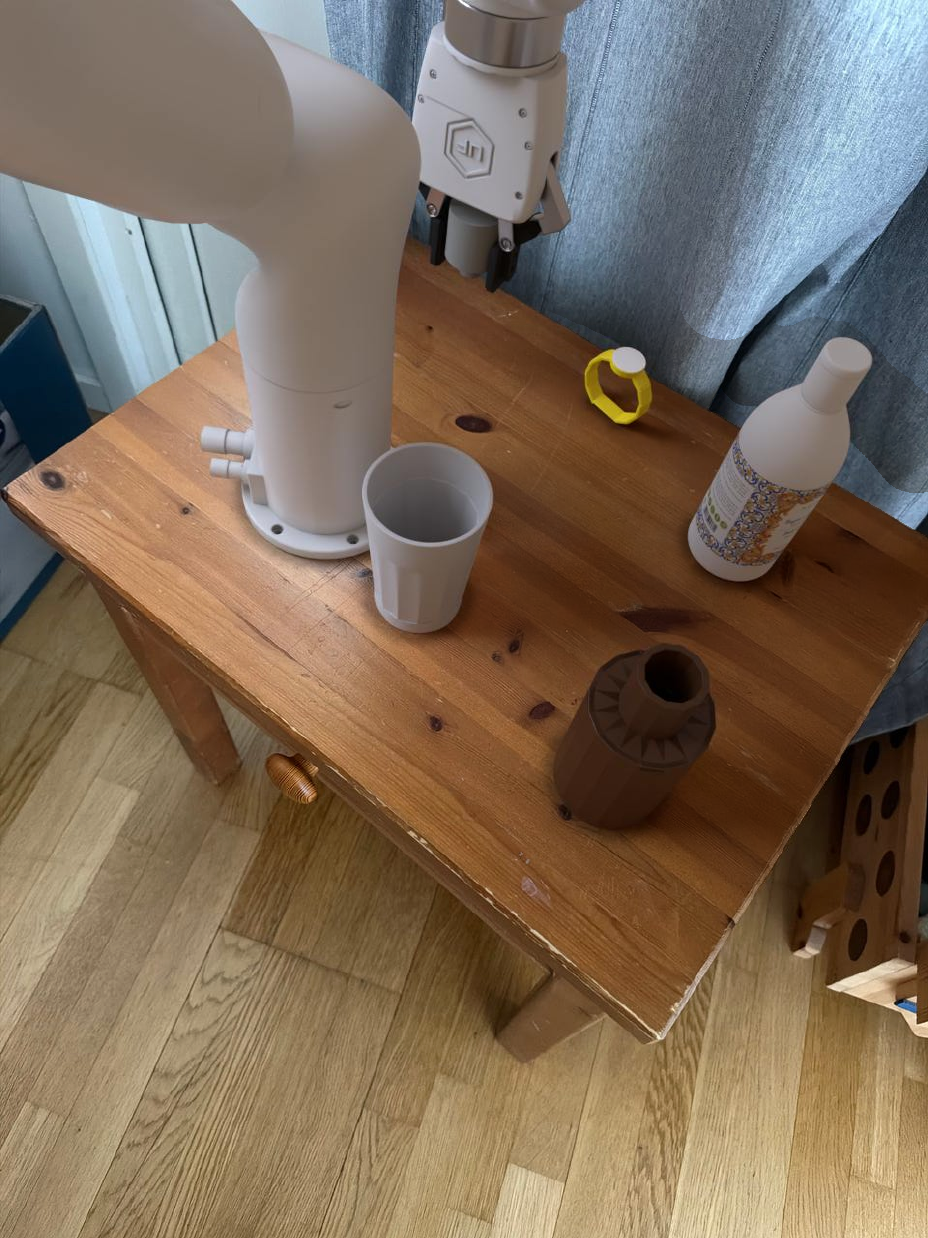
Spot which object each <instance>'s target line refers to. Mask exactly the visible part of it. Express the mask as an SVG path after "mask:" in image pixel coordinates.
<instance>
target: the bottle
mask: <svg viewBox="0 0 928 1238" xmlns="http://www.w3.org/2000/svg"><path fill="white" fill-rule="evenodd" d="M710 684H711V683H710V672H709V670H708V667H707V666H706V665H705V663H704V661H703V660H702V659H701V657H700V655H698V654H697V653H695V652H694V651H692V650H690V649H689V648H687V647H686V646H685V645H682V644H676V643H668V642H662V643H659V644H656V645H654V646H651V647H648V648H647V649H635V650H631V651H626V652H622V653H618V654H615V655H614V656H613V657H612V658H610V659H609V660H608V661H606V662H605V663H604V664H602V665H601V666H599V668H598V669H597V671H596V673H595V675H594V676H593V678H592V680H591V682H590V684H589V686H588V688H587V690H586V691H585V694H584V696H583V698H582V700H581V703H580V705H579V706H578V708H577V710H576V712H575V714H574V716H573V719H572V720H571V723H570V725H569V727H568V729H567V730H566V732H565V734H564V736H563V739H562V740H561V743H560V745H559V747H558V749H557V751H556V753H555V754H554V759H553V765H552V776H553V783H554V786H555V790H556V792H557V794H558V797H559V798H560V800H561V801H562V803H563V804H564V806H565V807H566V808H567V809H568V810H569V812H570V813H572V814H573V815H574V816H575V817H577V818H578V819H579V820H581V821H582V822H585V823H586V824H589V825H591V826H593V827H597V828H601V829H607V830H618V829H619V830H621V829H624V828H628V827H632V826H635V825H636V824H638V823H640V822H641V821H643V820H644V819H645V818H646V817H648V816H649V814H650V813H651V812H652V811H654V810H655V809H656V808H657V807H658V805H660V803H661V802H662V801H663V800H664V799H665V798H666V797H667V796H668V794H669V793H670V792H671V791H672V790H673V788H674V787H676V785H677V784H678V783H679V782H680V780H681V779H682V778H683V777H684V776H685V775H686V774H687V773H688V772H689V770H691V768H692V767H693V766H694V765H695V764H696V762H698V760H699V759H700V758H702V756H703V755H704V754H705V752H706V751H707V750H708V749H709V747H710V745H711V742H712V739H713V737H714V735H715V732H716V730H717V714H716V712H717V711H716V702H715V701H714V699H713V696H712V694H711V692H710V690H711V687H710V686H711V685H710Z"/></svg>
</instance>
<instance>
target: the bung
mask: <svg viewBox="0 0 928 1238" xmlns="http://www.w3.org/2000/svg"><path fill="white" fill-rule="evenodd" d="M498 240H499V232H498V218H496V217H494V216H491V215H489V214H487V213H485V212H483V211H480V210H478V209H476V208H474V207H472V206H469V205H467V204H465V203H463V202H461V201H459V200H456V199H454V198H452V200H451V202H450V207H449V216H448V226H447V235H446V244H445V257H446V261H447V262H448V263H449V264H450V265H451V266H452V267H453V268H455V269H457V270H458V272H459V274H460V275H461V276H462V277H464V278H466V279H477V278H479V277H480V276H481V275H482V274H485V273H486V274H487V271H488V265H489V259H490V252H491V248H492V247H493V245H494V244H495V243H496V242H497V241H498Z"/></svg>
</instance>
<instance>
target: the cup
mask: <svg viewBox="0 0 928 1238" xmlns="http://www.w3.org/2000/svg"><path fill="white" fill-rule="evenodd" d="M393 448H394V449H392V450H390V451H388V452H386V453H385V454H383V455H382V456H380V457H379V458H378V459H377V460H376V461H375V462H374V463H373V464H372V466H371V467H370V468H369V470H368V472H367V474H366V476H365V479H364V482H363V487H362V497H363V504H364V511H365V517H366V524H367V530H368V538H369V546H370V550H369V552H370V561H371V569H372V576H373V577H372V578H373V583H374V602H375V605H376V608H377V610H378V612H379V614H380V615H381V616H382V617H383V619H384V620H385V621H387V622H388V623H389V624H390V625H392V626H393V627H394V628H397V629H399V630H401V631H404V632H408V633H414V634H427V633H431V632H432V633H433V632H435V631H438V630H441V629H442V628H444V627H446V626H447V625H449V624H450V623H451V622H452V621H453V620H454V619H455V618H456V616H457V614H458V613H459V611H460V609H461V606H462V602H463V595H464V593H465V589H466V586H467V583H468V581H469V580H468V579H469V578H470V574H471V571H472V568H473V565H474V561H475V559H476V555H477V554H478V550H479V547H480V544H481V540H482V538H483V535H484V533H485V532H484V531H485V529H486V527H487V523H488V521H489V518H490V516H491V514H492V513H491V512H492V510H493V506H494V489H493V485H492V482H491V480H490V478H489V476H488V474H487V473H486V471H485V469H484V468H483V467H482V466H481V464H479V463H478V462H477V461H476V459H474V458H473V457H472V456H470V455H469V454H467V453H466V452H464V451H462V450H460V449H458V448H456V447H453V446H450V445H447V444H444V443H438V442H430V441H419V442H417V441H416V442H411V443H406V444H402V445H398V446H396V447H393Z"/></svg>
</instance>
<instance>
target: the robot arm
mask: <svg viewBox="0 0 928 1238" xmlns="http://www.w3.org/2000/svg"><path fill="white" fill-rule="evenodd" d="M439 2H440V3H442V4H443V6H442V7H443V8H442V19H441V21H440V22H438V23H436V24H435V25H434V26H433V27H432V29H431V32H430V35H429V39H428V42H427V45H426V49H425V53H424V57H423V61H422V65H421V68H420V74H419V78H418V83H417V88H416V94H415V98H414V106H413V113H412V118H411V119H410V117H409V116H408V114H407V113H406V112H405V110H404V109H403V107H402V106H401V105H400V104H399V102H397V101H396V99H395V98H394V97H392V95H390V94H389V93H388V92H387V91H386V90H385V89H383V88H382V87H381V86H380V85H378V84H377V83H375V82H373V81H372V80H370V79H369V78H367V77H366V76H365V75H363V74H361V73H360V72H358V71H356V70H354V69H352V68H351V67H348V66H346V65H345V64H342V63H341V62H338V61H336V60H333V59H331V58H329V57H326V56H324V55H322V54H320V53H318V52H315V51H313V50H311V49H309V48H306V47H305V46H302V45H300V44H297V43H295V42H294V41H291V40H289V39H286V38H284V37H282V36H280V35H277V34H276V33H269V32H267V31H264V30H262V29H260V28H258V27H257V26H255V24H253V22H252V21H251V20H250V18H248V17H247V16H246V14H244V12H243V11H242V10H241V9H240V8H239V7H238V6H237V4H236V3H235V2H234V1H233V0H0V174H1V175H2V174H3V175H5V176H8V177H11V178H14V179H17V180H18V181H21V182H25V183H29V184H32V185H36V186H40V187H42V188H46V189H50V190H53V191H57V192H60V193H63V194H67V195H71V196H74V197H77V198H81V199H85V200H89V201H90V202H91V201H92V202H95V203H97V204H100V205H103V206H105V207H107V208H111V209H113V210H116V211H120V212H122V213H125V214H127V215H131V216H134V217H137V218H140V219H144V220H150V221H154V222H155V221H156V222H162V223H167V224H171V225H172V224H173V225H175V224H178V225H203V224H207V225H208V226H210V227H212V228H213V229H215V230H216V231H218V232H220V233H223V234H225V235H226V236H228V237H230V238H232V239H234V240H236V241H237V242H239V243H241V244H242V245H244V246H245V247H246V248H248V250H249V251H251V252H252V253H253V254H254V257H256V260H257V263H255V265H254V266H253V267H252V268H251V269H250V271H249V272H248V273H247V274H246V275H245V277H244V279H243V280H242V282H241V284H240V286H239V288H238V291H237V294H236V297H235V305H234V322H235V323H234V324H235V330H236V331H235V332H236V338H237V343H238V344H237V345H238V348H239V351H240V357H241V363H242V369H243V376H244V382H245V387H246V388H245V389H246V393H247V399H248V400H247V401H248V406H249V414H250V418H251V425H252V427H247V429H246V430H245V432H244V431H237V430H230V428H226V427H220V426H211V425H204V426H203V428H202V430H201V435H200V448H201V451H202V452H204V453H210V454H211V453H212V454H219V455H225V456H226V455H233V456H234V455H235V456H241V457H243V459H244V461H243V462H241V461H234V460H232V459H225V458H218V457H212V459H211V460H210V465H209V473H210V476H211V477H212V478H219V479H228V480H229V479H234V480H241V487H240V488H241V496H242V502H243V506H244V511H245V513H246V516H247V517H248V519H249V521H250V524H251V525H252V526H253V528H254V529H255V530H256V531H257V532H258V533H259V534H260V536H262V538H263V539H265V540H266V541H268V542H269V543H270V544H272V545H273V546H274V547H276V548H278V549H280V550H283V551H284V552H286V553H288V554H291V555H295V556H298V557H302V558H305V559H306V558H307V559H313V560H314V559H316V560H339V559H345V558H349V557H354V556H357V555H360V554H362V553H365V552H368V551H370V546H369V538H368V530H367V524H366V517H365V511H364V504H363V497H362V487H363V482H364V479H365V476H366V474H367V472H368V470H369V468H370V467H371V466H372V464H373V463H374V462H375V461H376V460H377V459H378V458H379V457H380V456H382V455H383V454H385V453H386V452H388V451H390V450H392V449H394V448H395V447H394V446H392V422H393V421H392V420H393V394H394V393H393V392H394V391H393V390H394V366H395V365H394V362H395V341H396V340H395V336H396V314H397V313H396V311H397V297H398V294H397V293H398V287H399V279H400V271H401V265H402V259H403V254H404V249H405V245H406V241H407V237H408V232H409V229H410V224H411V220H412V217H413V214H414V213H413V212H414V209H415V205H416V201H417V198H418V197H417V196H418V193H420V194H421V196H422V197H423V199H424V201H425V204H424V209H425V213H426V214H427V215H428V216H429V217H430V223H429V234H428V245H429V246H430V256H429V257H430V258H429V264H431V265H433V266H434V267H438V266H441V265H442V264H443V263H444V262H445V261H447V259H446V257H445V244H446V235H447V226H448V216H449V207H450V202H451V200H452V198H454V199H456V200H459V201H461V202H463V203H465V204H467V205H469V206H472V207H474V208H476V209H478V210H480V211H483V212H485V213H487V214H489V215H491V216H494V217H496V218H498V232H499V240H498V241H497V242H496V243H495V244H494V245H493V247H492V248H491V252H490V259H489V265H488V271H487V272H486V279H485V286H484V288H485V289H486V291H487V292H489V293H491V294H494V293H495V292H496V291H497V290H498V289H499V288H500V287H501V285H503V283H504V282H506V283H508V282H510V281H511V280H512V279H513V277H514V276H515V274H516V271H517V267H518V262H519V257H520V252H521V246H522V245H523V244H526V243H528V242H530V241H533V240H534V239H536V238H538V237H539V236H546V235H550V234H555V233H559V232H562V231H563V230H564V229H565V228H566V227H567V226H568V225H569V224H570V223H571V221H572V214H571V211H570V209H569V206H568V203H567V199H566V197H565V194H564V192H563V188H562V185H561V183H560V180H559V177H558V174H559V169H560V164H561V158H562V157H561V156H562V150H563V144H564V136H565V128H566V119H567V105H568V103H567V101H568V56H567V54H565V53H564V52H563V51H561V47H562V42H563V37H564V32H565V26H566V21H567V16H568V14H570V13H572V12H573V11H575V10H577V9H579V8H580V7H581V6H582V5H583V4H584V3H585V2H587V0H439ZM539 204H541V207H542V210H543V212H542V211H538V212H536V210H537V208H538V206H539Z"/></svg>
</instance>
